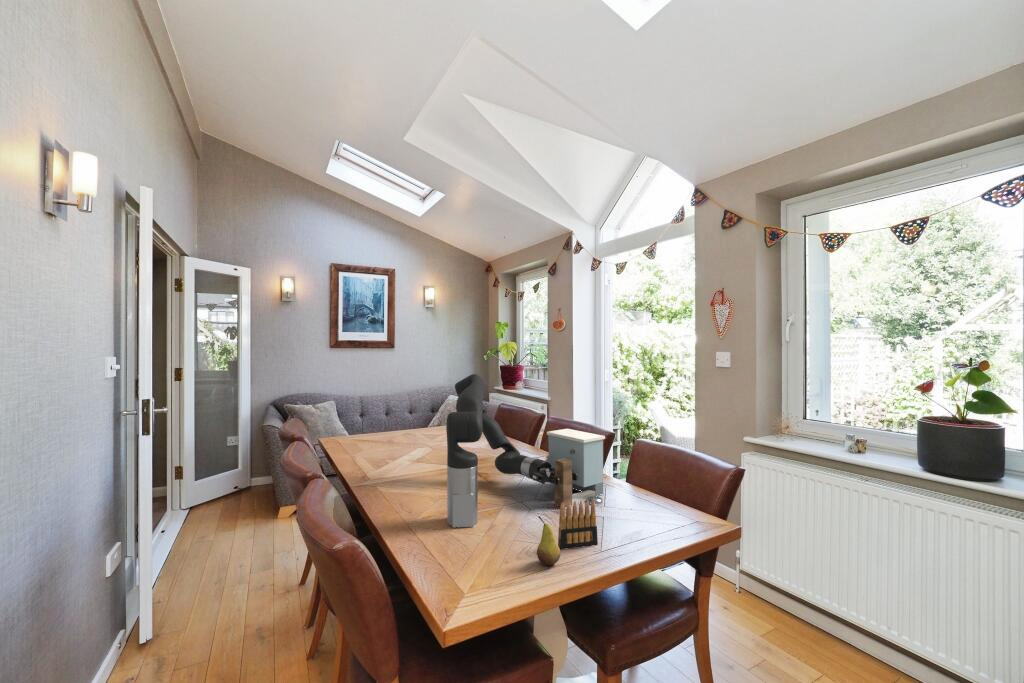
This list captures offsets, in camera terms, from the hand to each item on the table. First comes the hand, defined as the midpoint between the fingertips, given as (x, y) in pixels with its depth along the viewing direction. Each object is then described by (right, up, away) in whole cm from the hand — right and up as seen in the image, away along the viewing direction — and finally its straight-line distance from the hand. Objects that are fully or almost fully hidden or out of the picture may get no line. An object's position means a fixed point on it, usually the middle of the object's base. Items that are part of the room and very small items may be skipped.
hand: (568, 479), depth 152 cm
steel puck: (+10, -9, +4) cm, 14 cm away
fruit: (-10, -9, -40) cm, 42 cm away
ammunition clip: (-1, -9, -29) cm, 31 cm away
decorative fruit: (0, -10, +36) cm, 38 cm away
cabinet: (+5, -9, +17) cm, 20 cm away
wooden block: (+3, -9, +5) cm, 11 cm away
